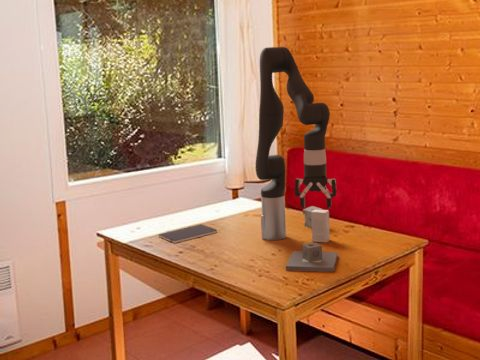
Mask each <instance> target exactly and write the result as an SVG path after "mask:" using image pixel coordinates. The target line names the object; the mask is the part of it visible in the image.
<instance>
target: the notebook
mask: <svg viewBox="0 0 480 360" xmlns="http://www.w3.org/2000/svg"><path fill="white" fill-rule="evenodd" d="M217 231H218V230H217V229H216V228H213V227H211V226H207V225H204V224H197V225H196V224H195V225H193V226H188V227H184V228H181V229H175V230H172V231H167V232H162V233H159V234H158V237H159V238H161V239H164V240H167V241H168V242H171V243H173V244H175V243H176V244H177V243H181V242H185V241H189V240H192V239H196V238H200V237H204V236H208V235H212V234H216V233H217Z"/></svg>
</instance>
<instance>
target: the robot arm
mask: <svg viewBox="0 0 480 360" xmlns="http://www.w3.org/2000/svg"><path fill="white" fill-rule="evenodd" d="M274 73H275V74H276V73H285V74H286V75H287V77H288V78H287V81H286V91H287V95H288V96H289V98H290V99H291V101H292V102H293V104H294V105H295V109H296V114H297V118H298V120H299V122H300V123H301V124H302V125H305V126H311V125H314V127H313V129H311V130H309V131H307V132H305V133H304V134H303V151H304V152H303V178H299V177H296V178H295V180H294V196H295V197H298V198H299V199H300V200H299V201H300V203H299V204H300V207H301V209H306V194H307V193H308V191H309V192H312V193H313V192H319V193H320V192H322V193H323V194H324V196H326V210H330V208H331V207H332V198H335V197H336V196H337V194H338V193H337V189H338V188H337V180H336V178H334V177H333V178H327V155H326V154H327V153H326V133H327V130H328V129H327V128H328V125H329V122H330V115H331V114H330V108H329V106H328V105H327V104H326V103H324V102H314V100H315V97H314V94H313V92H312V90H311V89H310V88H309V86H308V85H307V84H306V82H305V81H304V79H303V77H302V75H301V72H300V70H299V67H298V65H297V63H296V60H295V59H294V56H293V54H292V52H291V50H290V49H289V48H287V47H285V46H271V47H263V48H262V49H261V51H260V54H259V82H260V85H259V86H260V95H259V114H258V116H259V117H258V142H257V150H256V159H255V173H256V177H257V179H259V180H260V181H266V180H267V181H268V180H271V181H270V183H268V184H267V185H265V186H264V187H262V188H261V190H260V197H261V215H260V225H261V239H262V240H267V241H279V240H283V239H286V237H287V231H286V228H287V227H286V205H285V204H286V201H285V189H286V163H285V159H284V157H283V156H282V155H280V154H273V155H270V150H271V147H272V144H273V143H274V141H275V139H276V138H277V136H278V135H279V133H280V131H281V129H282V127H283V125H284V110H285V109H284V105H283V102H282V100H281V98H280V97H279V95H278V93H277V91H276V90H275V87H274V85H273V74H274ZM302 183H303V184H304V186H305V188H304V189H303V190H302V192H300V186H301V185H302ZM328 183H329V185H330V186H331V192H330V191H329V189H328V188H327V186H326V185H327V184H328Z"/></svg>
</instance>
